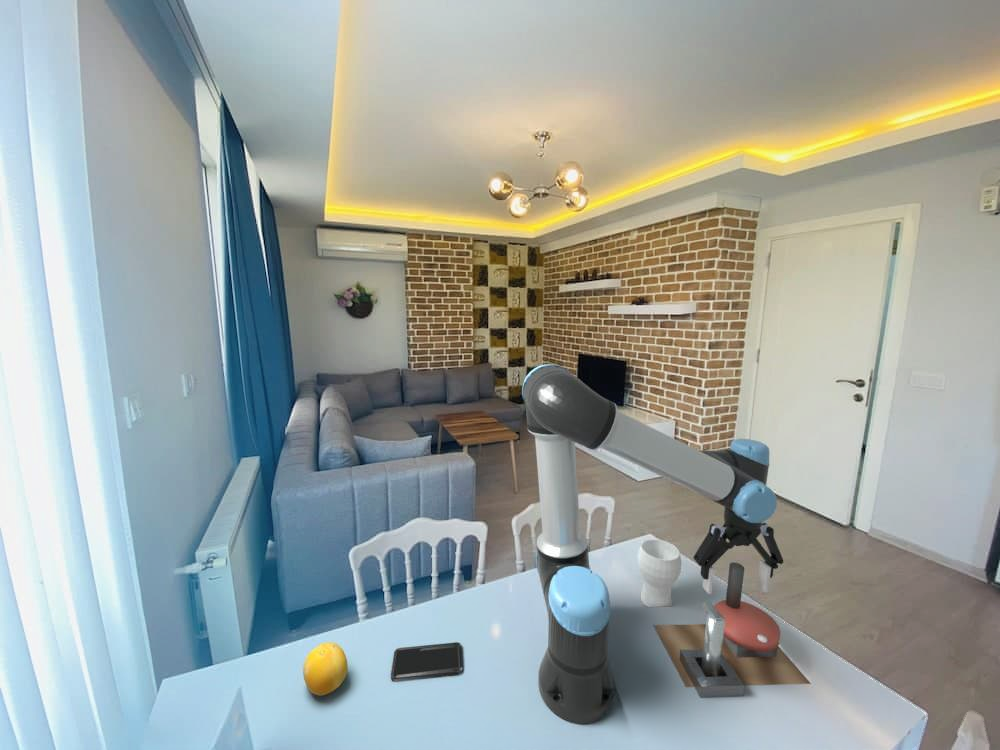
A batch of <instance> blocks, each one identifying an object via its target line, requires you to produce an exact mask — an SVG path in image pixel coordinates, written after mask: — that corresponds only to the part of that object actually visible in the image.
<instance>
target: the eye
mask: <svg viewBox="0 0 1000 750" xmlns="http://www.w3.org/2000/svg"><path fill="white" fill-rule="evenodd" d="M702 659H703V649H689V650H680V658H679V660H680V662H681V664H682V666H683V667H684V669H685V671H686V673H687V675H688V676H689V678H690V680H691V682H692V684H693V686H694V687H693V688H694V689H695V691H696V692H697V695H698V697H699V698H727V697H728V698H729V697H743V696H744V690H745V685H744V684H743V683H742V681H741V680H740V678H739V677H738V676H737V674H736V673H735V671H734V670H733V668H732V667H731V665H730V664H729V662H728V661H727V659H726V658H725V657H724V655H723V654H722V652H721V661H720V670H719V675H720V677H705V675H704V673H703V672H702V670H701V668H700V667H702Z"/></svg>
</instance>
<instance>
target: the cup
mask: <svg viewBox="0 0 1000 750" xmlns="http://www.w3.org/2000/svg"><path fill="white" fill-rule="evenodd" d="M682 564H683V563H682V556H681V552H680V550H679V549H678V548H677V547H676V545H674V544H672V543H671V542H668V541H666V540H662V539H658V538H650V539H649V538H648V539H645V540H644V541H642V542H641V544H640V547H639V549H638V552H637V565H638V569H639V572H640V574H641V576H642V582H643V583H642V584H643V586H642V589H641V592H640V600H641V602H642V604H644V605H645V606H646V607H647V608H665V607H667V608H668V607H669V608H670V607H672V603H673V602H672V601H673V600H672V588H673V585H674V584H675V583H676V581H677V580H678V579H679V576H680V575H681V573H682V572H681V570H682Z"/></svg>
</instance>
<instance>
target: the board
mask: <svg viewBox="0 0 1000 750" xmlns="http://www.w3.org/2000/svg"><path fill="white" fill-rule="evenodd" d="M653 627H654V630H655V631H656V633H657V635H658V638H659V639H660V641H661V643H662V645H663V647H664V649H665V650H666V652H667V654H668V657H669V658H670V660H671V662H672V664H673V665H674V667H675V670H676V671H677V673H678V675H679V677H680V678H681V679H680V680H682V683H683V684H684V686H685V688H695V687H694V686H693V684H692V682H691V680H690V678H689V676H688V675H687V673H686V671H685V669H684V667H683V666H682V664H681V662H680V660H679V658H680V650H689V649H704V640H705V630H706V623H701V624H700V623H698V624H697V623H696V624H694V623H693V624H662V625H661V624H655V625H654V624H653ZM722 654H723V655H724V657H725V658H726V659H727V661H728V662H729V664H730V665H731V667H732V668H733V670H734V671H735V673H736V674H737V676H738V677H739V678H740V680H741V681H742V683H743V684H744V686H775V685H776V686H777V685H778V686H779V685H809V684H810V685H811V682H810V681H809V680H808V678H807V677H806V676H805V674H804V673H803V672H802V671H801V670H800V669H799V668H798V667H797V665H795V663H794V662H793V661H792V660H791V659H790V657H789V656H788V655H787V653H785V651H784V650H783V649H782V648H781V647H780V646H779V645H778V646H777V648H775V649H774V650H771V651H766V652H761V651H754V650H750V649H747V648H744V647H742V646H739V645H737V644H735V643H734V642H732V641H730V640H729V639H728V638H726V637H725V636H724V635H723V643H722ZM700 668H701V669H702V667H700ZM719 677H720V675H719Z"/></svg>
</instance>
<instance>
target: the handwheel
mask: <svg viewBox="0 0 1000 750" xmlns="http://www.w3.org/2000/svg"><path fill="white" fill-rule="evenodd" d="M744 574H745V566H743V565H742V564H741V563H738V562H735V561H734V562H732V561H731V562H730V563H729V568H728V577H727V587H726V594H725V599H723V600H720V601H718V602H716V603H715V604H714V607H715V608H716V610H717V611H718V612H719V614H721V615H722V616H723V617H724V618H725V625H724V634H723V635H724V636H725V637H726V638H728V639H729V640H730V641H732V642H734V643H735V644H737V645H739V646H742V647H744V648H747V649H750V650H754V651H761V652H766V651H771V650H774V649H775V648H777V646H779V645H780V640H781V629H780V627H779V625H778V623H777V622H776V620H775V619H774V618H773V617H772V616H771V615H769V614H768V612H765V610H764V609H761V608H760V607H757V606H755V605H754V604H751V603H749V602H746V601H742V592H743V591H742V590H743V584H744Z"/></svg>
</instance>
